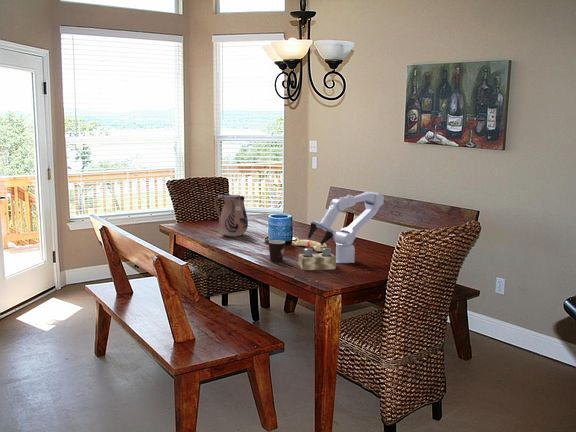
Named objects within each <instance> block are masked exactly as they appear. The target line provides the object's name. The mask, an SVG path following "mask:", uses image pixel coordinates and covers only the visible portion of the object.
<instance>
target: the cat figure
mask: <svg viewBox="0 0 576 432" xmlns="http://www.w3.org/2000/svg"><path fill="white" fill-rule="evenodd" d="M298 236H299V232H295V233H294V238H295V239H296V241H295V240H292V241H291V246H299V247H300V246H303V247H304V246H306V248H312V249H313V251H316V252H322V248H329V247H328V246H327V244H326V242H325V243H324V244H323V245H321V244H320V243H321V242H319V241H318V240H316V239H315V238H314V240H315V241H314V240H309V239H300V238H299V237H298Z"/></svg>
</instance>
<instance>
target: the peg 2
mask: <svg viewBox="0 0 576 432" xmlns="http://www.w3.org/2000/svg"><path fill="white" fill-rule="evenodd" d="M321 252H322V256H323V257H331V253H332V248H331V247H328V248H322V251H321Z"/></svg>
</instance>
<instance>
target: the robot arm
mask: <svg viewBox="0 0 576 432" xmlns="http://www.w3.org/2000/svg"><path fill="white" fill-rule="evenodd" d="M384 201H385V197H384V194H383V193H381V192H380V193H379V192H374V191H364V192H362V193H359V194H357V195H355V196H353V195H352V194H346V196H340V197H339V198H333V199H332V200H330V202H329V207H328V210H327V211H326V212H325V214H324V215H323V217H322V219H321V221H320V222H319V221H317V220H314V219H311V221H310V228H309V232H308V235H307V239H308V240H309V239H311V238H312V236H313V235H314V233H315V232H316V231H317V229H318V228H319V229H321V230H323V231H325V234H324V237H323V238H322V239H321V241H320V242H319V243H320V244H321V245H323V244H324V243H325V244H326V243H327V242H328V241H330V240H331V239H333V241H334V242H335V244H336V246H335V257H336V264H351V263H352V264H354V263H356V261H355V255H356V253H355V251H356V249H355V245H354V244H353V243H354V241H355V239H356V237H357V235H356V234H357V233H358V232H359V231H360V230H361V229H362V228H363V227H364V226H365V225H366V224H368V223H369V222H370V220H371V219H372V218H373V217H375V216H376V214H377V213H378V211H379V209H380V208H381V207H382V206H383V205H384ZM361 202H364V207H365V210H364V211H363V212H361V213H360V214H359V215H358V216H357V217H356V218H355V219H354V220H353V221H352V222H351V223H350V224H349V225H347V226H346V227H342V228H341V229H340V230H337V231H336V230H334V229H332V228H331V227H332V226H333V224H334V222H335V221H336V219H337V217H338V216H339V214H340V213H341V212H344V211H345V210H346V209H347V208H350V207H353V206H355V205H356V204H357V203H361Z"/></svg>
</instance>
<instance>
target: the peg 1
mask: <svg viewBox="0 0 576 432" xmlns="http://www.w3.org/2000/svg"><path fill="white" fill-rule="evenodd" d="M313 251H314V248H312V247H310V248H307V247H305V248H303V254H304V257H312V256H313V254H314V253H313Z"/></svg>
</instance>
